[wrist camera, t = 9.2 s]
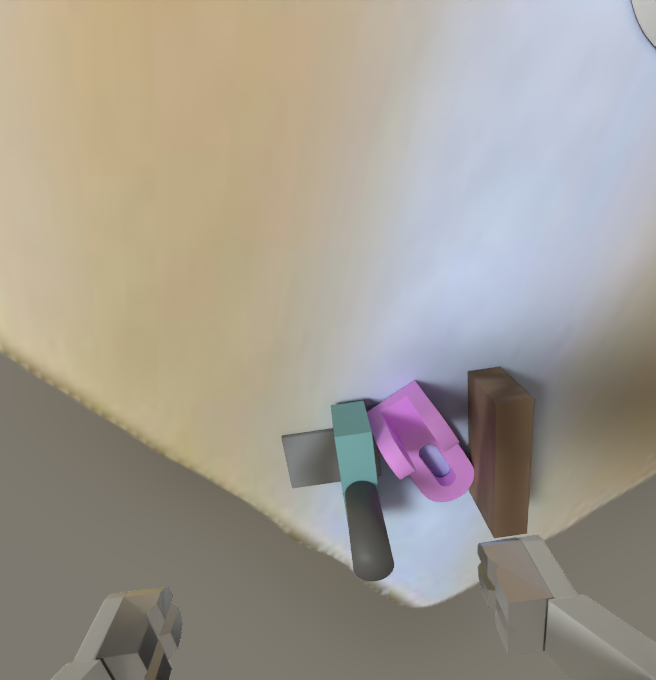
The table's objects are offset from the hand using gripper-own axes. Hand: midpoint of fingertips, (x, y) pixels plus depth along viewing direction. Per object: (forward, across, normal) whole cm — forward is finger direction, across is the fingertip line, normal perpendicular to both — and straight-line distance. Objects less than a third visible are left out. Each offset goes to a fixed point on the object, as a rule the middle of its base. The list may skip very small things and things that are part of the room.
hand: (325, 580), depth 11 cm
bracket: (+25, -8, +16) cm, 31 cm away
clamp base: (+25, -4, +16) cm, 30 cm away
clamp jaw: (+25, -1, +15) cm, 29 cm away
